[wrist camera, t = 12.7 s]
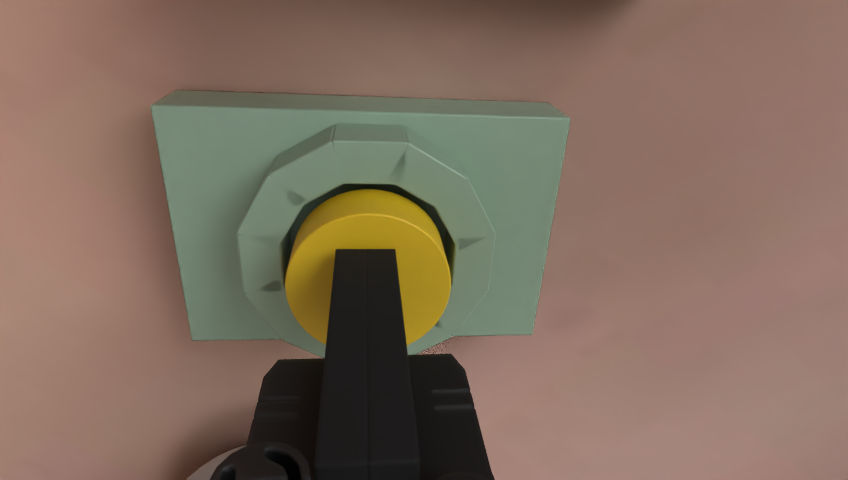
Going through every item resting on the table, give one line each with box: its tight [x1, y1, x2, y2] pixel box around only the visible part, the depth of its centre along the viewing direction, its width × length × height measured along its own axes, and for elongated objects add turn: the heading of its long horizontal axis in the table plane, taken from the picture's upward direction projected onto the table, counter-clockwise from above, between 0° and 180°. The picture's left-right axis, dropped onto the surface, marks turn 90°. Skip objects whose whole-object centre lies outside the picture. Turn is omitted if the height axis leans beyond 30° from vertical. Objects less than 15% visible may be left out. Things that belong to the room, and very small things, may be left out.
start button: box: [285, 189, 451, 346], centre depth 15 cm, size 4×4×2 cm
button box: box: [151, 90, 570, 358], centre depth 17 cm, size 12×8×4 cm, turn 87°
